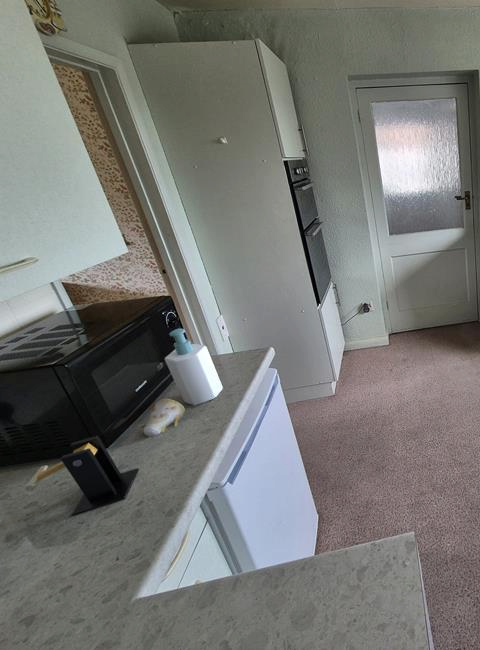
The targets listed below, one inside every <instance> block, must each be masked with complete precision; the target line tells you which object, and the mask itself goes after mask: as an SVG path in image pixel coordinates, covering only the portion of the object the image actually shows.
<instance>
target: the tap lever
mask: <svg viewBox="0 0 480 650" xmlns="http://www.w3.org/2000/svg"><path fill="white" fill-rule="evenodd" d="M89 448H90V449H91V451H92V453H93V454H94V455H95V454H96V452H97V449H96V448H95V447H93V446H92V445H91V444H90V443H87V444H86V445H84V446H82V447H80V448H78V449H76V450H75V451H73V452H72V453H74V452H78V451H81V450H85V449H89ZM65 468H66V466H65V465H64V463H63V462H62V461H60V462H58V463H56V464H54V465H52V466H51V467H50V466H48V465H42V466H40V467H39V469H38V470H37V471H36V472H35V474H34V475H33V477H32V478H31V479H30V480H29V481H28V483H27V484H26V485H25V487H24V489H25V491H28V492H32V491H34V490H35V489H36V488H37V487H38V486H39V484H40V483H41V481H42V480H43V479H45V478H47V477H49V476H51V475H53V474H55V473H57V472H58V471H60V470H63V469H65Z"/></svg>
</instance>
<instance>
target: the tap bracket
mask: <svg viewBox="0 0 480 650" xmlns="http://www.w3.org/2000/svg"><path fill="white" fill-rule="evenodd" d="M87 443H90V444H91V445H92V446H93V447H95V448H96V449H97V452H96V454H95V455H94V454H93V453H92V451H91V449H90V448H89V449H85V450H81V451H78V452H74V451H75V450H76V449H78V448H80V447H82V446H84V445H86V444H87ZM70 448H71V449H72V451H73V452H74V453H73V452H70V453H67V454H63V455H62V456H61V458H60V460H61V461H60V462H63V463H64V465H65V466H66V467H65V468H66V469H67V471H68V472H69V474H70V475H71V478H73V480H74V481H75V483H76V484H77V486H78V487H79V489H80V490H81V492H82V497H81V498H80V501H79V502H78V503H77V505H76V507H75V509H74V510H73V512H72V514H71V516H72V517H74V516H78V515H80V514H84V513H87V512H90V511H93V510H96V509H99V508H102V507H106V506H109V505H111V504H115V503H117V502H121V501H124V500H126V499H127V497H128V494H129V492H130V490H131V488H132V486H133V483H134V481H135V479H136V478H137V475H138V473H139V470H140V468H139V467H137V468H134V469H130V470H127V471H124V472H121V470H119V468H118V466H117V465H116V463H115V462H114V460H113V458H112V456H111V455H110V453H109V452H108V450H107V448H106V447H105V444H104V443H103V442H102V440H101V438H100V437H99V435H96V436H91V437H88V438H84V439H80V440H77V441H74V442H72V443H71V444H70Z"/></svg>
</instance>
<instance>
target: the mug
mask: <svg viewBox="0 0 480 650" xmlns="http://www.w3.org/2000/svg"><path fill="white" fill-rule="evenodd" d="M185 412H186V408H185V407H184V406H183V404H181V403H180V402H178V401H176V400H173V399H171V398H160V399H159V400H158V401H156V402H155V404H154V405H153V407H152V410H151V412H150V416H149V420H148V422H146V425H145V426H144V427H143V430H142V431H143V434H144V435H145V436H147V437H155V436H157V435H160V434H165V433H166V432H165V431H166V428H167V427H169V426H171V425H172V424H173V428H175V427H177V426H178V423H179V421H180V419H181V418H182V416H184V414H185Z"/></svg>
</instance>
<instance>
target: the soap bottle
mask: <svg viewBox="0 0 480 650" xmlns="http://www.w3.org/2000/svg"><path fill="white" fill-rule="evenodd" d="M184 333H186V330H185V329H184V328H176V329H174V330H172V331H170V333H168V334H169V336H170V337H173V339H174V340H175V343H173V347H174V350H172V352H170V353H169V354H168V355H167V356H165V357H164V362H165V364H166V366H167V368H168V370H169V372H170V374H171V377H172V379H173V381H174V383H175V385H176V387H177V390H178V391H179V394H180V396H181V398H182V400H183V402H184V403H186V404H189V405H192V406H199V405H201V403H202V404H204V403H208V402H210V401H213V400H215V399H216V398H217V396H219V394H220V393H221V392H222V390H223V389H224V386H223V385H222V382H221V380H220V377H219V375H218V371H217V370H216V367H215V364H214V362H213V360H212V357H211V354H210V352H209V350H208V347H207V346H206V345H204V344H198V343H192V342H191V341H190V339H186V337H185V334H184ZM215 397H216V398H215ZM214 398H215V399H214ZM212 399H213V400H212ZM209 400H210V401H209ZM198 404H199V405H198Z"/></svg>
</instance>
